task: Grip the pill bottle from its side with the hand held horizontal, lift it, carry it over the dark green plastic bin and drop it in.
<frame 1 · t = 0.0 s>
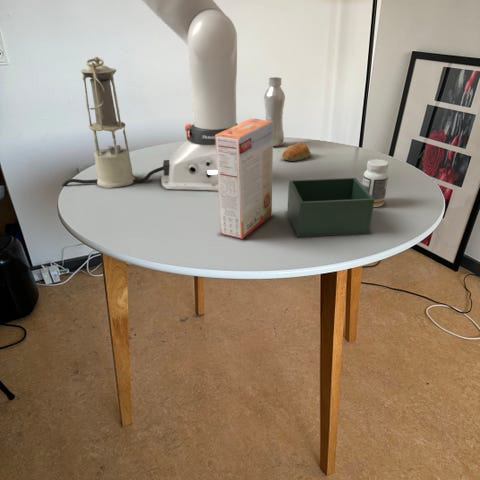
plastic bottle: (273, 146, 152), on the table
bin: (326, 222, 103), on the table
pastry: (295, 158, 141), on the table
lamp: (115, 183, 125), on the table
cracker box: (246, 226, 102), on the table
pill bottle: (371, 204, 111), on the table
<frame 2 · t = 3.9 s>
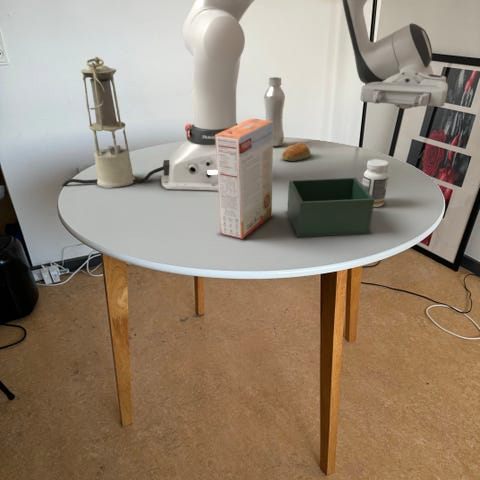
hand: (396, 101, 108), 21 cm above the table, tool horizontal, fingers open, 8 cm apart
nothing on the table moved.
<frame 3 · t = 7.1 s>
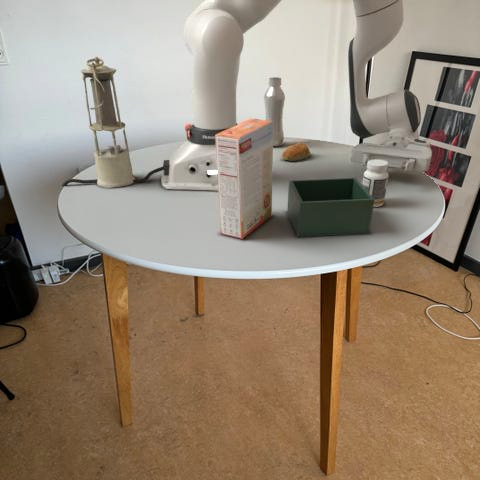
hand: (384, 165, 115), 6 cm above the table, tool horizontal, fingers open, 8 cm apart
nothing on the table moved.
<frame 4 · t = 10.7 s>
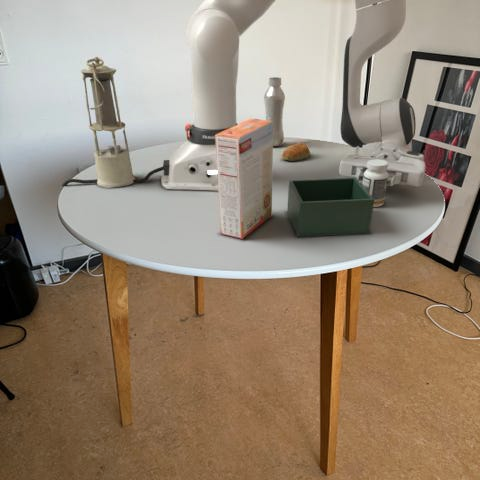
hand: (374, 180, 107), 6 cm above the table, tool horizontal, fingers closed on pill bottle, 5 cm apart
pill bottle: (371, 204, 112), on the table, touching gripper
everything else where it was.
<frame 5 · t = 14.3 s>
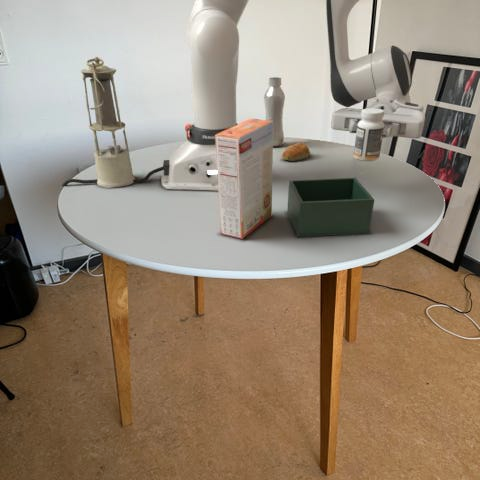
hand: (369, 131, 98), 18 cm above the table, tool horizontal, fingers closed on pill bottle, 5 cm apart
pill bottle: (365, 159, 102), point 12 cm above the table, touching gripper
everything else where it was.
when the fingers open (14 cm above the table, at t = 18.1 s): pill bottle drops 6 cm, resting on bin.
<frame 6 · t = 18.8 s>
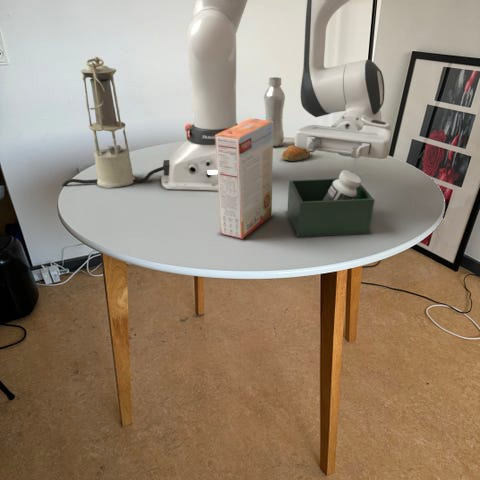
hand: (331, 151, 93), 16 cm above the table, tool horizontal, fingers open, 8 cm apart
pill bottle: (328, 216, 102), point 2 cm above the table, touching bin
everything else where it was.
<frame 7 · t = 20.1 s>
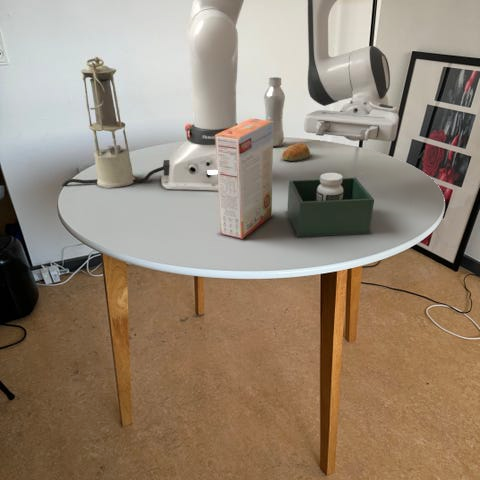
hand: (341, 133, 95), 18 cm above the table, tool horizontal, fingers open, 8 cm apart
pill bottle: (326, 220, 103), resting on bin
everything else where it was.
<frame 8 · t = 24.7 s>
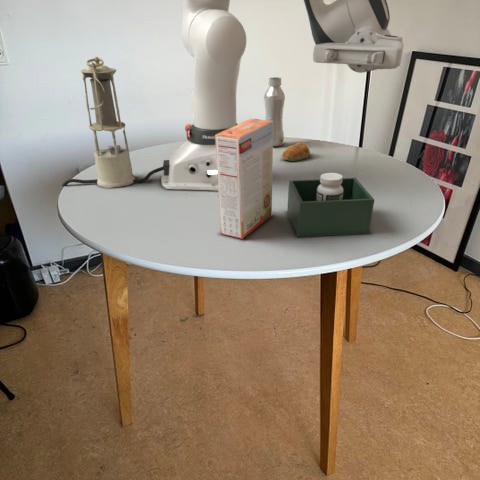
hand: (348, 58, 101), 30 cm above the table, tool horizontal, fingers open, 8 cm apart
nothing on the table moved.
at the end: pill bottle inside the target area in the bin (0.1 cm from its centre), point 0.4 cm above the bin's base; the gripper is holding nothing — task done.
